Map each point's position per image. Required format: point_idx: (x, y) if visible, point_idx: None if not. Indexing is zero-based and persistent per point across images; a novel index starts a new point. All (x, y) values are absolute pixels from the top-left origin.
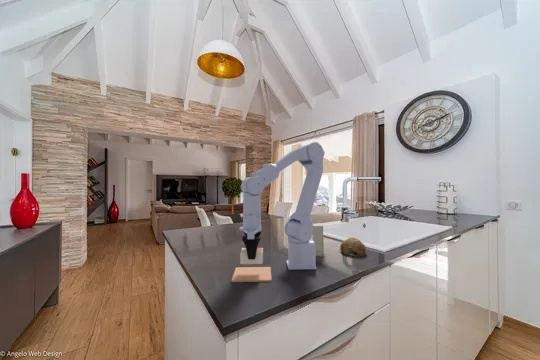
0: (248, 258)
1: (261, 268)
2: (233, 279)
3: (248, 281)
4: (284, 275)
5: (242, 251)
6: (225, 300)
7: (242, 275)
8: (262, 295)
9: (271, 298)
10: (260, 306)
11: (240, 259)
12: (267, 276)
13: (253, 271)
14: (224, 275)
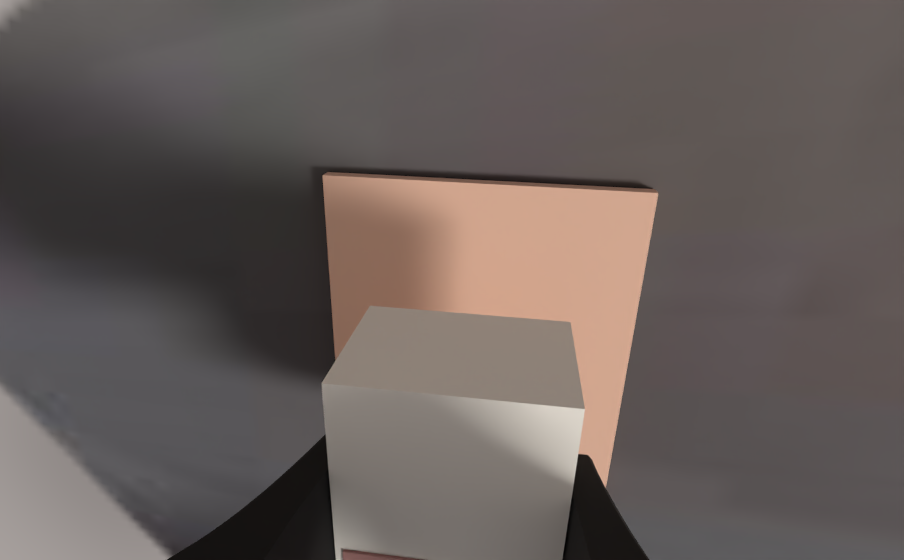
0: (324, 436)
1: None
2: (344, 192)
3: (335, 317)
4: None
5: (391, 413)
6: (40, 156)
7: (431, 271)
8: (151, 394)
9: (127, 437)
10: (33, 373)
11: (352, 335)
12: None
13: None
14: (488, 75)
